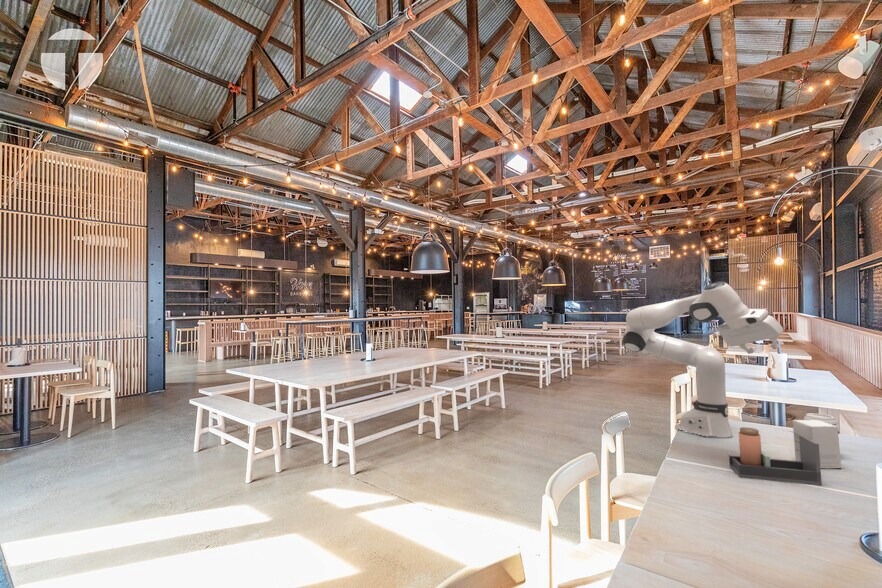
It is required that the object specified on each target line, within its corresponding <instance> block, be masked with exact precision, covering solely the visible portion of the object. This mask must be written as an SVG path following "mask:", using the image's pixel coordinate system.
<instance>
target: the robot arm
mask: <svg viewBox="0 0 882 588" xmlns="http://www.w3.org/2000/svg"><path fill="white" fill-rule="evenodd" d="M688 312H689V314H690V317H692V318H693V319H694V320H695V321H697V322H699V323H703V324H705V323H709V322H712V321H714V320H715V319H716V318H719V317H720V318H721V319H722V320H723V321H724V323H722V324H719V325H718V327H717V331H718V333H719V334H720V335H721V338H722V339H723V341H724V342H725V344H726V346H728V347H730V348H732V347H735V346H736V347H737V346H738V347H739V348H740V349H742V350H743V351H745V352H746V353H747V354H748V355H750V354H751V355H752V354H753V353H754V352H755V350H754V349H753V347H749V346H748V345H746V344H751V343H754V342H760V341H763V340H764V341H765V340H769V341H770V342H771V345H770V347H771V348H772V350H776V349H779V348H780V345H779V344H778V337H780V336H781V335H782V334H783V333H784V328H783V326H782V325H781V323H780V322H778V320H777V318H775V317H773V316H772V315H770V314H769V311H768V309H766V308H748V306H747V305H746V304H744V303H743V302H742V300H741V297H740V296H739V294H737V292H736V291H735V290H734V288H733V287H731V286H730V285H729V284H728V283H727V282H725V281H715V282H712V283H710V284H708V285H706V286H705V287H704V288H703V289H702V292H700V293H697V294H693V295H689V296H685V297H684V296H683V297H681V298H676V299H675V300H668V301H664V302H659V303H654V304H649V305H644V306H639V307H636V308H633V309H631V310H629V311H628V312H627V313H626V315H625V316H626V317H625V321H626V326H625V331H624V335H623V336H622V346H623V347H624V348H625V349H626V350H628V351H630V352H633V353H639V352H642V351H644V352H646V353H648V354H651V355H653V356H656V357H659V358H662V359H664V360H668V361H671V362H673V363H677V364H682V365H686V366H690V367H694V368H695V372H696V373H695V374H696V375H695V376H696V393H697V394H696V395H697V396H696V397H697V399H696V400H695V401H693V402H692V403H691V405H692V406H693V408H692V409H690V410H689V411H686V412H685V413H683V414H682V415H681V418H680V421H679V423H677V424H676V425H675V426H674V429H675V430H677V431H680V429H681V430H684V431H687V432H686V433H688V432H691V433H690V434H692V433H695V434H694V435H696V434H699V435H703V436H717V437H716V438H731V437H733V432H732V430H731V427H730V421H729V418H728V417H729V407H728V403H727V396H726V395H727V394H726V391H727V390H726V361H725V358H724V357H723V355H722V354H721V353H720V352H719V350H717V349H715V348H712V347H709V346H705V345H702V344H697V343H694V342H689V341H685V340H682V339H679V338H675V337H672V336H669V335H666V334H660V333H658V332H655V331H654V330H655V329H660V328H663V327H665V326H668V325H669V324H670V323H672V322H673V321H674V320H675V319H677V318H679V317H680V316H681V315H683V314H686V313H688ZM678 429H679V430H678ZM684 431H683V432H684ZM699 435H698V436H699ZM703 436H702V437H703Z"/></svg>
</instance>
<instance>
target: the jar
mask: <svg viewBox="0 0 882 588" xmlns="http://www.w3.org/2000/svg"><path fill="white" fill-rule="evenodd" d="M759 433H760V432H759V429H757V428H753V427H745V426H743V427H739V431H738V445H739V447H738V448H739V456H740V463H741V464H742V465H753V466H762V454H761V450H762V442H761V439H762V438H761V434H759Z"/></svg>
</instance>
